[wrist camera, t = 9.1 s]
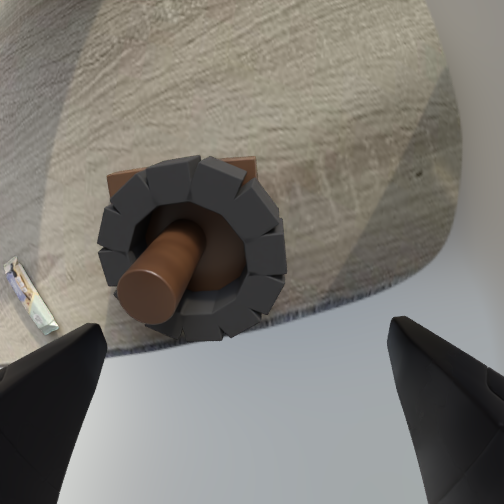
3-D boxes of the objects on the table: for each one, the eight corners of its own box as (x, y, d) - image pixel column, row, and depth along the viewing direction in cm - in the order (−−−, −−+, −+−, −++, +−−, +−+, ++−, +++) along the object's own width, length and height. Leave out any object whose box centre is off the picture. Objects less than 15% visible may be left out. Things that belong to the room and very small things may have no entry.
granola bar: (63, 326, 21) (57, 333, 20) (48, 331, 22) (42, 338, 21) (19, 252, 19) (10, 258, 18) (5, 262, 20) (-3, 268, 19)
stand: (255, 155, 16) (243, 179, 9) (265, 292, 19) (260, 379, 12) (115, 171, 17) (37, 205, 10) (141, 295, 20) (92, 369, 13)
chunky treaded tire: (274, 145, 15) (275, 149, 12) (290, 311, 18) (292, 337, 16) (102, 173, 16) (79, 182, 13) (141, 318, 19) (128, 341, 17)
